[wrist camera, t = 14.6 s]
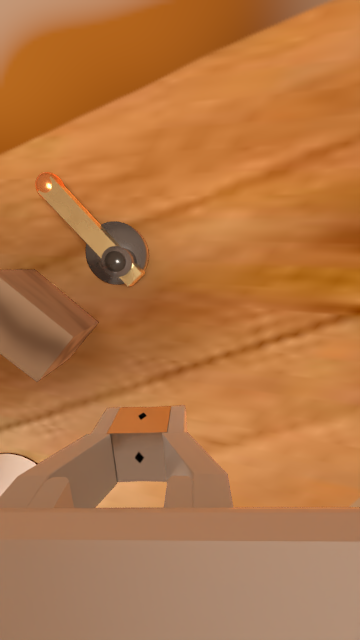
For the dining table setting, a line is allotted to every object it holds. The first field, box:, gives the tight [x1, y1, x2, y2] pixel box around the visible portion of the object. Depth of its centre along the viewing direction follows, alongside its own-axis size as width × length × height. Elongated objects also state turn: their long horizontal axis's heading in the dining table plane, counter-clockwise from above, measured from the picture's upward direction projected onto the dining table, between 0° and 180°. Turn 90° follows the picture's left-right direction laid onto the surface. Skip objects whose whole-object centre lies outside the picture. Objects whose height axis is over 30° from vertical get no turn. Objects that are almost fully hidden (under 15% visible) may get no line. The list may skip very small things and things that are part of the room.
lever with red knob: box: [35, 172, 149, 287], centre depth 31 cm, size 17×8×6 cm, turn 43°
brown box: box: [0, 269, 99, 382], centre depth 33 cm, size 8×14×8 cm, turn 49°
